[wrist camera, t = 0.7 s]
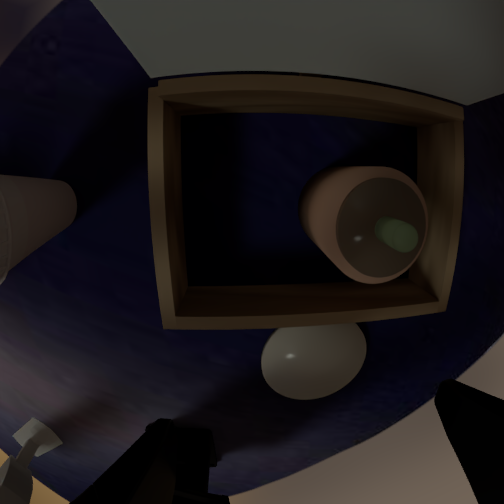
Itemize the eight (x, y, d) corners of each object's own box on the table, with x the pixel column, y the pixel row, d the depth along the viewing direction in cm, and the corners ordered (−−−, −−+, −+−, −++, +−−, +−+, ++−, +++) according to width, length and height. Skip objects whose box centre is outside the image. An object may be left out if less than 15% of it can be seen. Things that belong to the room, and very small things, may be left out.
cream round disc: (354, 389, 23) (356, 393, 23) (260, 398, 23) (261, 402, 23) (371, 306, 21) (374, 309, 21) (261, 312, 21) (261, 316, 20)
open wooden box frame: (414, 287, 21) (514, 370, 9) (177, 296, 20) (122, 424, 9) (422, 86, 17) (542, 50, 5) (169, 69, 16) (92, -30, 5)
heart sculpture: (33, 458, 27) (-4, 535, 10) (9, 437, 26) (-34, 512, 9) (68, 440, 25) (20, 548, 8) (37, 413, 24) (-24, 517, 7)
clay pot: (373, 248, 20) (450, 301, 11) (297, 250, 20) (339, 313, 11) (377, 169, 18) (466, 174, 10) (297, 164, 18) (348, 161, 9)
